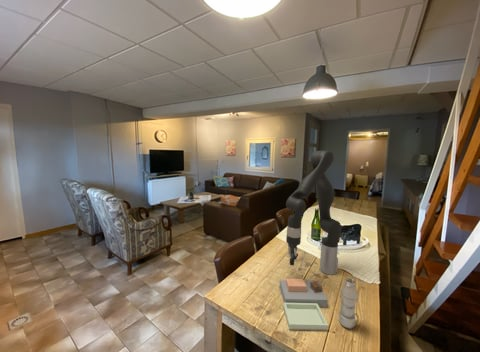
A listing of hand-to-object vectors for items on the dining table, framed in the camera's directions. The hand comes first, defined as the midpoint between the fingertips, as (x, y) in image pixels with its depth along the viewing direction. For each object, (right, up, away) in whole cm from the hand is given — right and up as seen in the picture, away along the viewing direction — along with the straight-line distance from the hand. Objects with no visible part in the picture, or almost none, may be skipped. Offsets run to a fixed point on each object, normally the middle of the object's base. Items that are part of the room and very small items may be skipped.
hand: (291, 264), depth 109 cm
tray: (0, -14, -22) cm, 26 cm away
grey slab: (+3, -13, -8) cm, 15 cm away
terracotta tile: (0, -9, -8) cm, 11 cm away
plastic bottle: (+17, -15, -24) cm, 33 cm away
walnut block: (+10, -9, -9) cm, 16 cm away
